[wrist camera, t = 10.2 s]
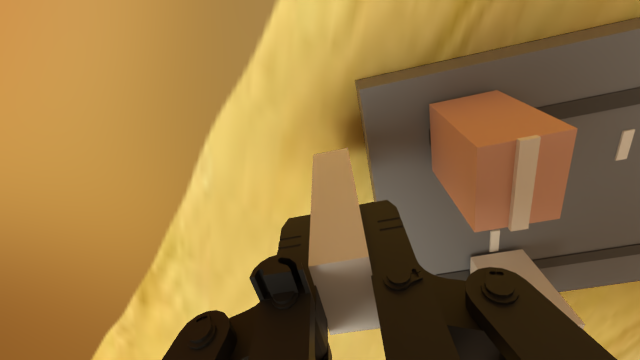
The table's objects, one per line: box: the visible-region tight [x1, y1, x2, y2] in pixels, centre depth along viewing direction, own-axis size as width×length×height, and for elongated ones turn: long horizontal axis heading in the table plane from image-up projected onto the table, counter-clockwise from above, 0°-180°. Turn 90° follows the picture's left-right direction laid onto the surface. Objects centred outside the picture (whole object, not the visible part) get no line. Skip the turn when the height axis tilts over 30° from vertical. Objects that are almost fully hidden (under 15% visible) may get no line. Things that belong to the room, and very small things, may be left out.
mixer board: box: [355, 18, 640, 292], centre depth 18 cm, size 16×20×2 cm
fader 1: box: [429, 90, 578, 232], centre depth 13 cm, size 4×3×5 cm
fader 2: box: [470, 249, 585, 329], centre depth 17 cm, size 4×3×5 cm
